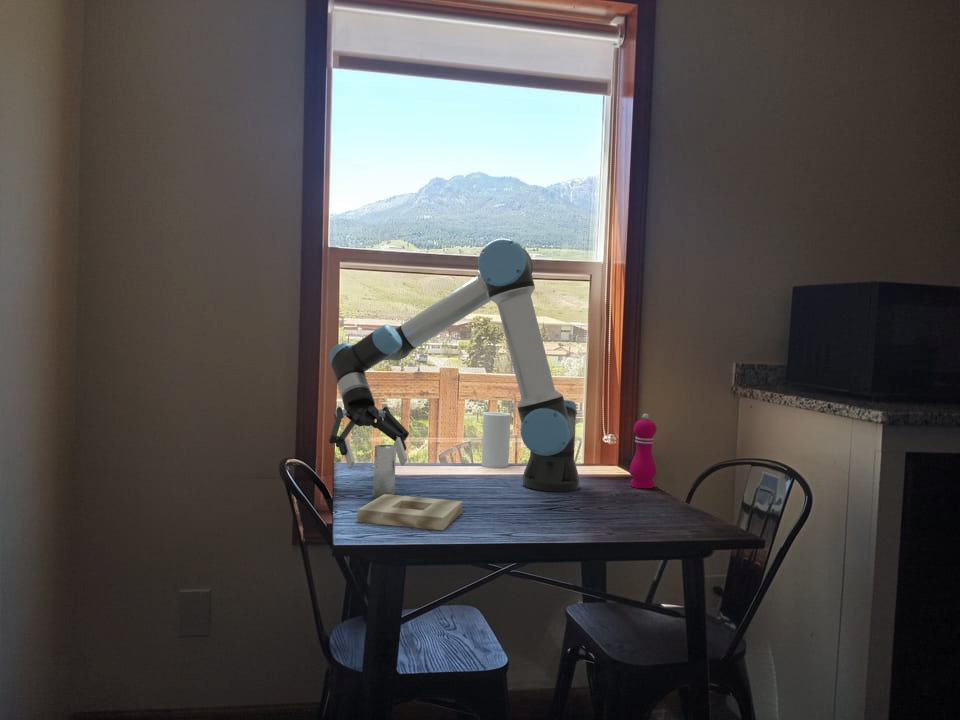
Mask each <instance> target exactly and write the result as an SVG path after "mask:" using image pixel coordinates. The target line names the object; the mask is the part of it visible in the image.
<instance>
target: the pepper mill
mask: <svg viewBox="0 0 960 720" xmlns="http://www.w3.org/2000/svg"><path fill="white" fill-rule="evenodd" d="M641 418H642V419H639V420H637V421H636V422H634V425H633V433H634V434H635V435H636V436H635V437H634V438H635V440H634V442H635V444H636V450H635V454H634V456H633V458H632V461H631V462H630V466H629V474H630V476H631V477H632V478H631V479H630V487H631V486H632V487H631V488H633V487H635V488H634V489H637V488H645V489H644V490H647V489H646V488H653V487H654V488H655V481H654V480H653V479H654V478H655V477H656V476H657V473H658V472H657V470H658V469H657V464H656V462H655V460H654V456H653V450H652V449H653V444H654V443H655V438H654V436H655V435H656V433H657V425H656V423H655V422H654V421H652V420H651V419H649V418H650V416H649V414H648V413H643V414H642V417H641ZM654 488H653V489H654Z"/></svg>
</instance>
